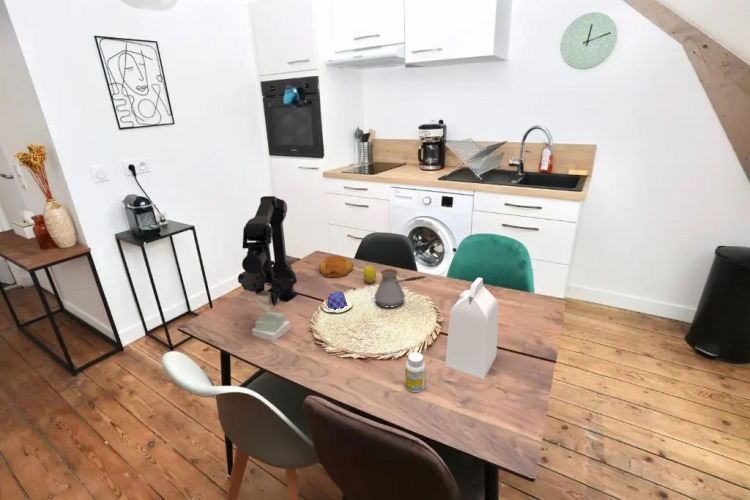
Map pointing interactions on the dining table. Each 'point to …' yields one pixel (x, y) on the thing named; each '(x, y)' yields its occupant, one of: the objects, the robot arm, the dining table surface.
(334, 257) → the croissant
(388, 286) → the coffee pot
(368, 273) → the lemon
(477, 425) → the dining table surface
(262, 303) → the birch cube
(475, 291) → the milk
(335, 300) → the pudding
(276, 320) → the sage green block
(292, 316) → the dining table surface
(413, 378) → the supplement bottle
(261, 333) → the base block
